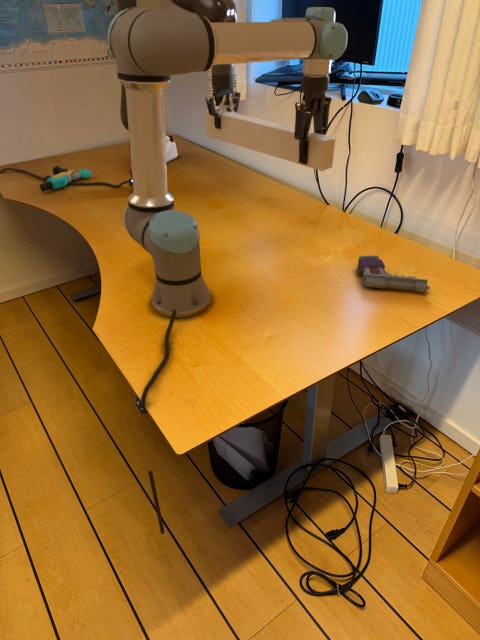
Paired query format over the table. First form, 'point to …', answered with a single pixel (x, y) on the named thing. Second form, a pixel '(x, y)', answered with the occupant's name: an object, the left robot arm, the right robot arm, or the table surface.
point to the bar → (271, 139)
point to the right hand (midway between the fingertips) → (308, 161)
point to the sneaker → (170, 148)
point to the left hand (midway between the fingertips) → (224, 126)
